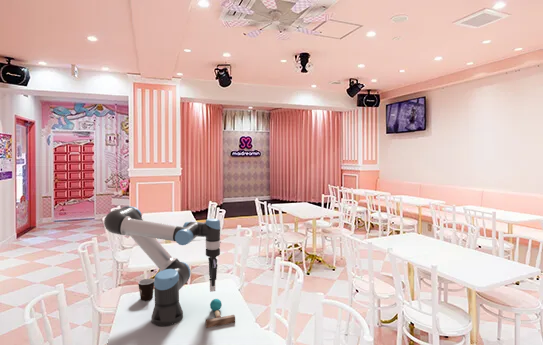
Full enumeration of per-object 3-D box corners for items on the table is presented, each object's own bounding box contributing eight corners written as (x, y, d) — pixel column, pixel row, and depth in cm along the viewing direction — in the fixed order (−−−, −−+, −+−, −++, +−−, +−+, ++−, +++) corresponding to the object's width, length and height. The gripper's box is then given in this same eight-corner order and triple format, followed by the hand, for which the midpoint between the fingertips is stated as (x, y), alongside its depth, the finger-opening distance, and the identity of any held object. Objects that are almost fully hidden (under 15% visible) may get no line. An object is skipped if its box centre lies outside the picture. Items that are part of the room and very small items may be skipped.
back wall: (206, 328, 152) (206, 322, 152) (205, 325, 154) (205, 319, 154) (235, 322, 157) (235, 316, 157) (234, 320, 159) (234, 314, 159)
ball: (209, 314, 167) (211, 305, 164) (208, 304, 172) (210, 296, 169) (221, 313, 169) (223, 305, 166) (219, 304, 174) (221, 296, 171)
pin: (214, 314, 164) (216, 323, 156) (214, 310, 164) (217, 318, 156) (219, 314, 165) (221, 322, 157) (219, 309, 165) (222, 317, 157)
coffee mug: (138, 296, 186) (138, 279, 185) (154, 294, 189) (154, 277, 188) (138, 305, 175) (137, 287, 174) (155, 302, 178) (154, 285, 177)
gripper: (222, 250, 166) (222, 295, 167) (217, 243, 178) (217, 285, 179) (207, 252, 163) (207, 297, 164) (203, 245, 175) (203, 286, 177)
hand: (212, 290), depth 172 cm, fingers closed
